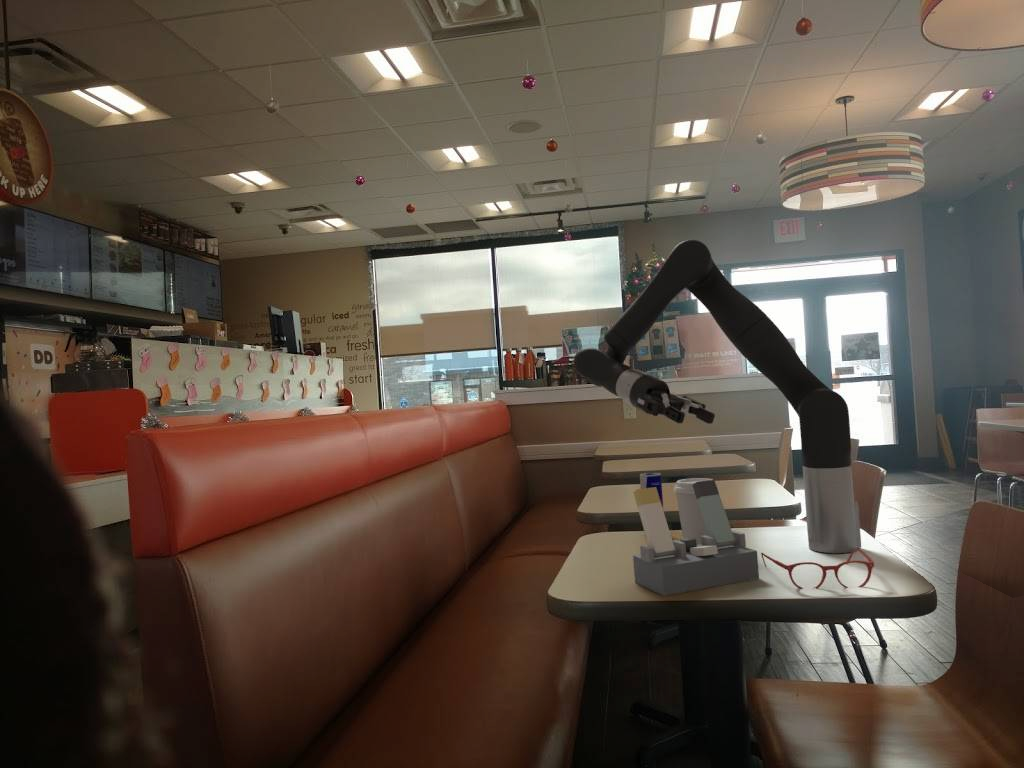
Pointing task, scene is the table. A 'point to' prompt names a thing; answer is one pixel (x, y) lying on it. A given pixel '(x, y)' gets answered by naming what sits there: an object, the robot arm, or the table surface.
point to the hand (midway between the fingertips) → (698, 419)
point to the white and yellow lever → (654, 522)
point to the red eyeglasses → (826, 568)
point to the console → (696, 565)
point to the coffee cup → (690, 509)
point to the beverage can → (652, 483)
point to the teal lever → (713, 513)
